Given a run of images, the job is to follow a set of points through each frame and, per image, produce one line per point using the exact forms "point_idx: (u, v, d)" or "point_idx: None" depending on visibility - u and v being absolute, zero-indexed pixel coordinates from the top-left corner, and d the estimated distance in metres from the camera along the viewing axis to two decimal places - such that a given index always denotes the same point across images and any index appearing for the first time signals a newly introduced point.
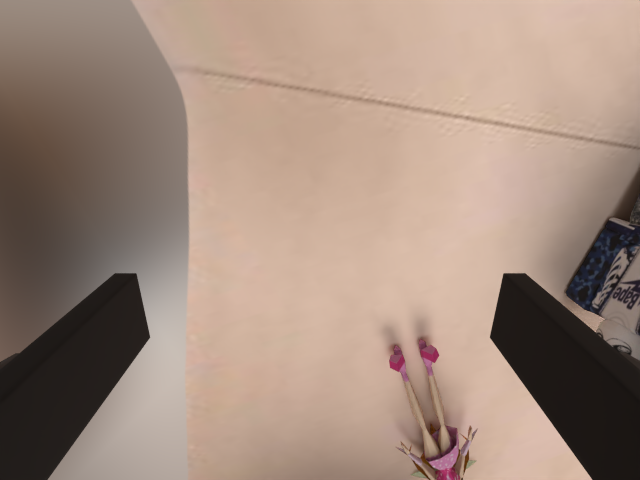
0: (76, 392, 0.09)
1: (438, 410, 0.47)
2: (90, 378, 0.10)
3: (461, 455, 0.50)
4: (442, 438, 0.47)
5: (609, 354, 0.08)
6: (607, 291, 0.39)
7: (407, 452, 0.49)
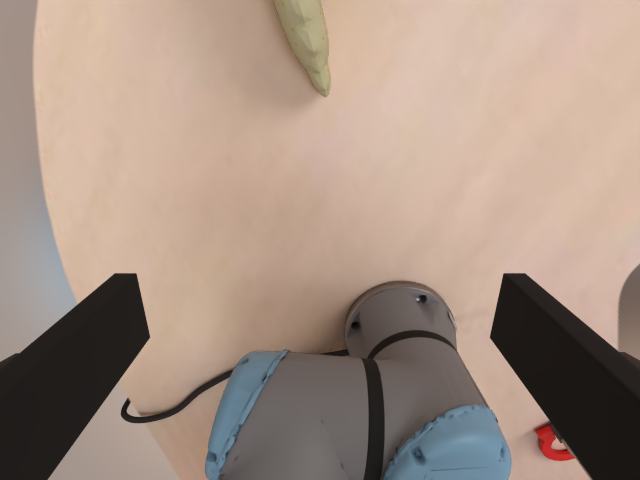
0: (76, 392, 0.09)
1: None
2: (90, 378, 0.10)
3: None
4: None
5: (609, 354, 0.08)
6: None
7: None
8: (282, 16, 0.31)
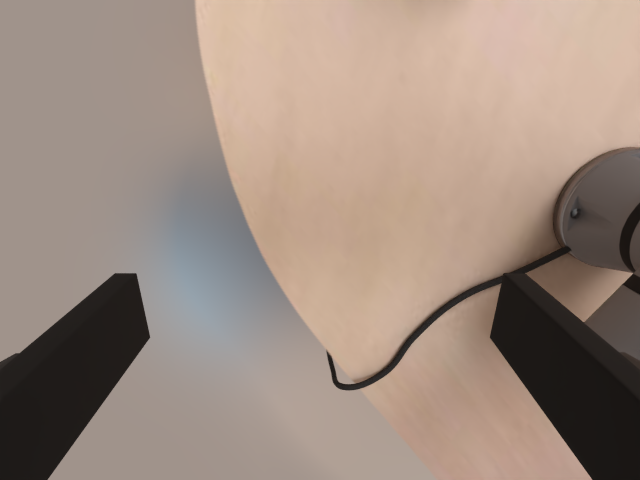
0: (76, 392, 0.09)
1: None
2: (90, 378, 0.10)
3: None
4: None
5: (609, 354, 0.08)
6: None
7: None
8: None
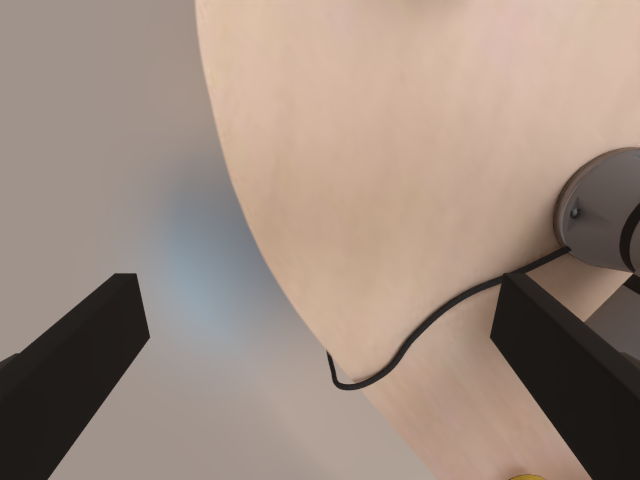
0: (76, 392, 0.09)
1: None
2: (90, 378, 0.10)
3: None
4: None
5: (609, 354, 0.08)
6: None
7: None
8: None
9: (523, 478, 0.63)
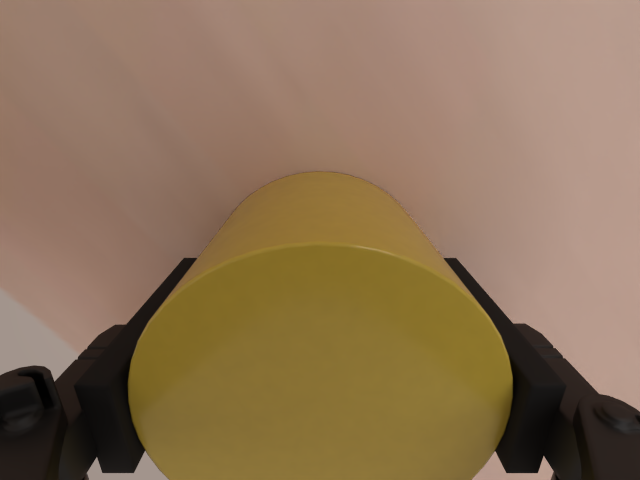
0: None
1: None
2: None
3: None
4: None
5: (501, 322, 0.10)
6: None
7: None
8: None
9: (285, 178, 0.13)
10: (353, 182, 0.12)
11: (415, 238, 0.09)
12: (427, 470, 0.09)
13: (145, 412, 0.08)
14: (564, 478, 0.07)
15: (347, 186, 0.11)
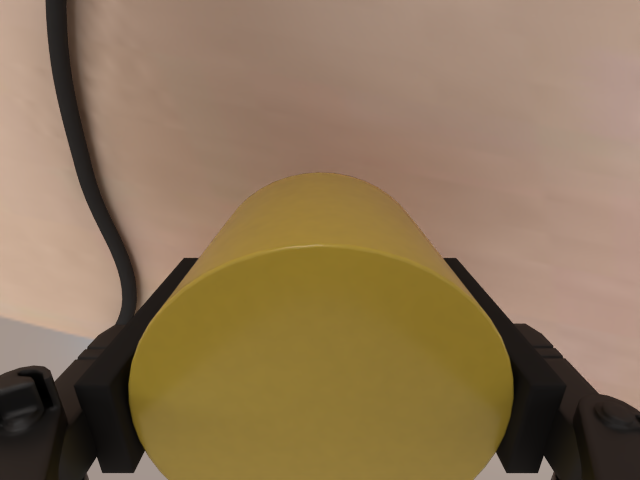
0: None
1: None
2: None
3: None
4: None
5: (501, 322, 0.10)
6: None
7: None
8: None
9: (285, 179, 0.13)
10: (353, 183, 0.12)
11: (415, 239, 0.09)
12: (427, 471, 0.09)
13: (146, 414, 0.08)
14: (564, 478, 0.07)
15: (347, 187, 0.11)
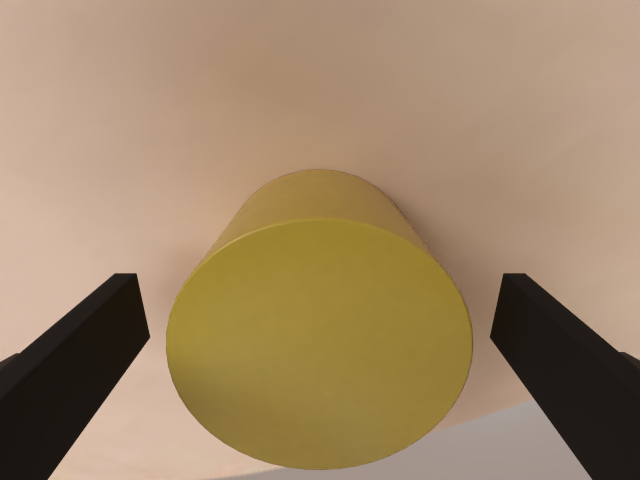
0: (76, 392, 0.09)
1: None
2: (90, 378, 0.10)
3: None
4: None
5: (608, 354, 0.08)
6: None
7: None
8: None
9: (289, 175, 0.15)
10: (347, 178, 0.14)
11: (396, 220, 0.11)
12: (407, 409, 0.11)
13: (179, 358, 0.10)
14: None
15: (342, 181, 0.13)
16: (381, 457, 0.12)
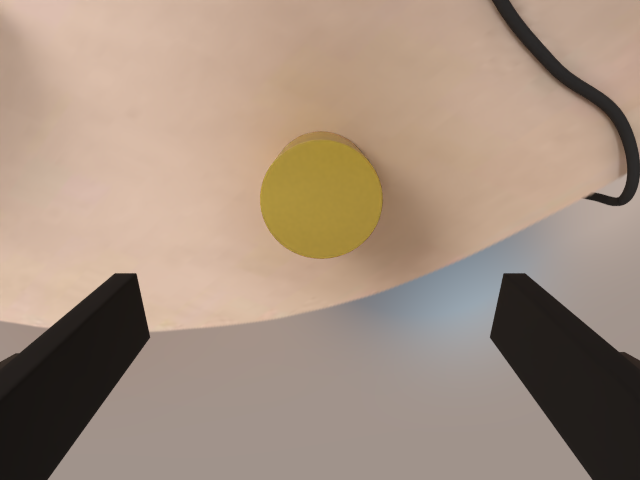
0: (76, 392, 0.09)
1: None
2: (90, 378, 0.10)
3: None
4: None
5: (609, 354, 0.08)
6: None
7: None
8: None
9: (306, 134, 0.30)
10: (335, 134, 0.30)
11: (352, 146, 0.26)
12: (357, 226, 0.26)
13: (265, 200, 0.26)
14: None
15: (332, 134, 0.29)
16: (347, 251, 0.27)
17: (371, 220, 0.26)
